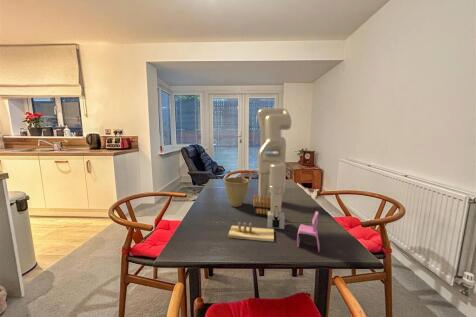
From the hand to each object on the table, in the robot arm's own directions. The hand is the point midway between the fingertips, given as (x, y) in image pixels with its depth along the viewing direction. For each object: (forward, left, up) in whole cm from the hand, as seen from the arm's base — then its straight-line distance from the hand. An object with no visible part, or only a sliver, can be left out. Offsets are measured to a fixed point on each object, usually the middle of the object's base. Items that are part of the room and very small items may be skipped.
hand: (275, 224), depth 103 cm
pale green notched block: (0, 0, -1) cm, 1 cm away
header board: (+10, -11, -1) cm, 15 cm away
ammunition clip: (-12, -7, -1) cm, 14 cm away
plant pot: (-25, -24, -1) cm, 35 cm away
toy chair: (+15, +13, -1) cm, 20 cm away
